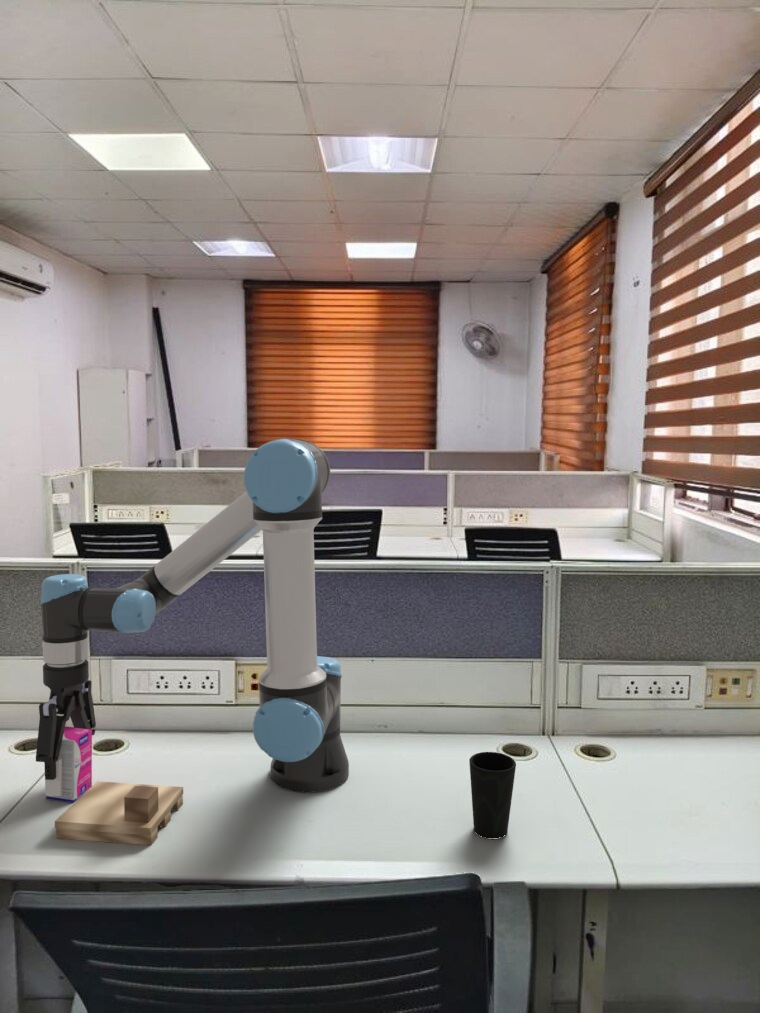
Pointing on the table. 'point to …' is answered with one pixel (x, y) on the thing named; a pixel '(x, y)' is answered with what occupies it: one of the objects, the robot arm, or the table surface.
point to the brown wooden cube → (141, 804)
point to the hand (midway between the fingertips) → (68, 782)
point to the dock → (115, 815)
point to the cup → (491, 792)
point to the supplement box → (75, 764)
